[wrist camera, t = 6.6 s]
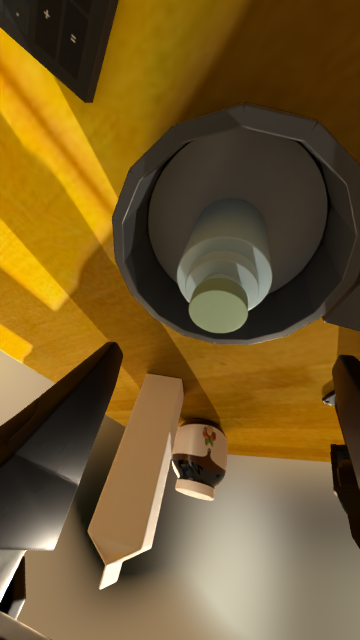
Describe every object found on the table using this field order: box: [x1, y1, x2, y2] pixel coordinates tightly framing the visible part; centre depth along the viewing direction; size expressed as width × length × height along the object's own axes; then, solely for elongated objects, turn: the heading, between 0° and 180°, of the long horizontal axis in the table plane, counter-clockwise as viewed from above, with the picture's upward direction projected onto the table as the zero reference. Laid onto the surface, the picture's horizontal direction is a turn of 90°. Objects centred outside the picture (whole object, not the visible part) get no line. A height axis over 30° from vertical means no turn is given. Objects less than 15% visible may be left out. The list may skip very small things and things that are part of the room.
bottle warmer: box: [112, 102, 360, 345], centre depth 15 cm, size 14×14×5 cm
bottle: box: [177, 199, 272, 333], centre depth 14 cm, size 5×5×9 cm
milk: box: [88, 373, 184, 589], centre depth 29 cm, size 6×6×22 cm
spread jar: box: [171, 418, 227, 500], centre depth 42 cm, size 12×11×12 cm
